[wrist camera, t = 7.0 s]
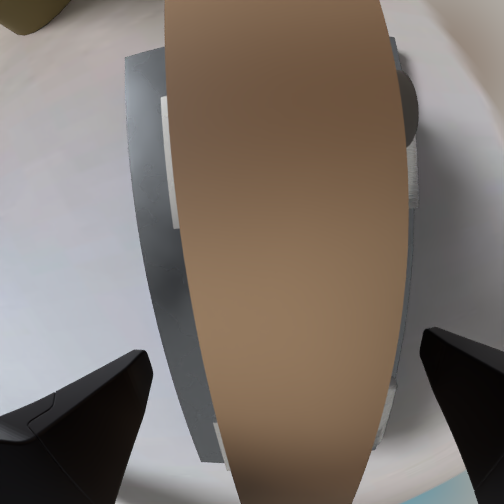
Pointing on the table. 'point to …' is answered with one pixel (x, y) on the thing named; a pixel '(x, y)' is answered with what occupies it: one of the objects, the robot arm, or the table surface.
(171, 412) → the table surface
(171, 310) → the plate
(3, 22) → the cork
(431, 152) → the table surface
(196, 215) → the cabinet door
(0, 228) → the table surface
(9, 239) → the table surface
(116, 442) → the robot arm
